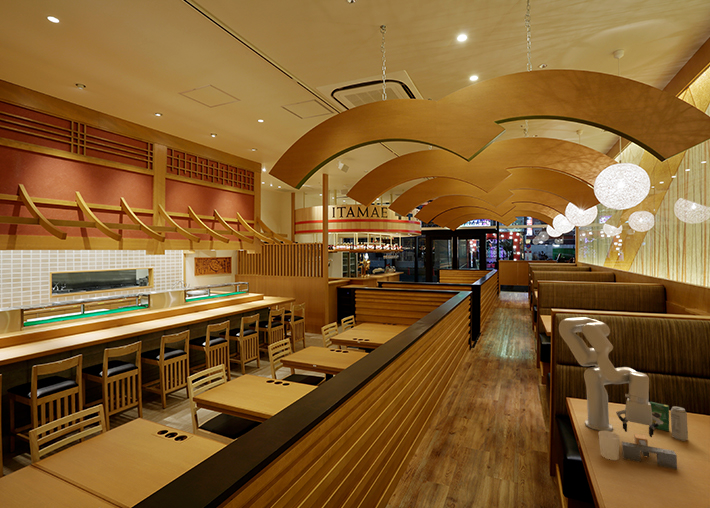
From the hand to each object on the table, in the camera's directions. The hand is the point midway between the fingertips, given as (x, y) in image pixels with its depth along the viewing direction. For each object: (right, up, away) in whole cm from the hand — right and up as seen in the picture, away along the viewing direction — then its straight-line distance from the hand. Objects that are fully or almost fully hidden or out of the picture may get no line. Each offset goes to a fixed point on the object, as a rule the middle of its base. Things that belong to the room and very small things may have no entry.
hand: (637, 433), depth 175 cm
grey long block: (-7, -5, -15) cm, 17 cm away
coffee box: (+24, -6, +15) cm, 29 cm away
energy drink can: (+25, -5, +5) cm, 26 cm away
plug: (-1, -5, -5) cm, 7 cm away
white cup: (-21, -6, -10) cm, 24 cm away
